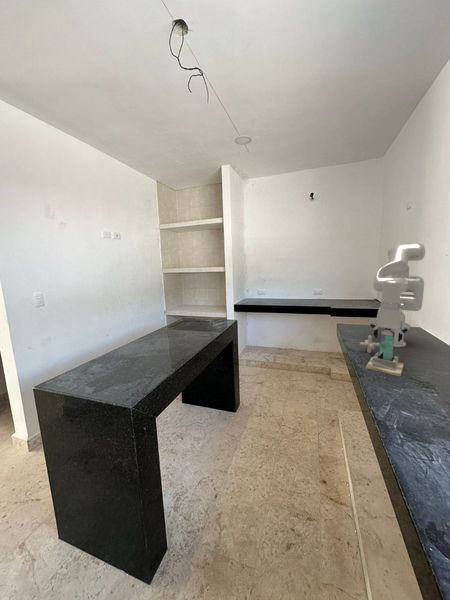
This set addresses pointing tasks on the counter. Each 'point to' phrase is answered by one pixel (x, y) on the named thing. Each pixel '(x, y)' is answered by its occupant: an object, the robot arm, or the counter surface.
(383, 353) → the spray can
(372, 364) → the collar block
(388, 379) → the counter surface
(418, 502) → the counter surface
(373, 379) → the counter surface
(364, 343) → the pipe connector
